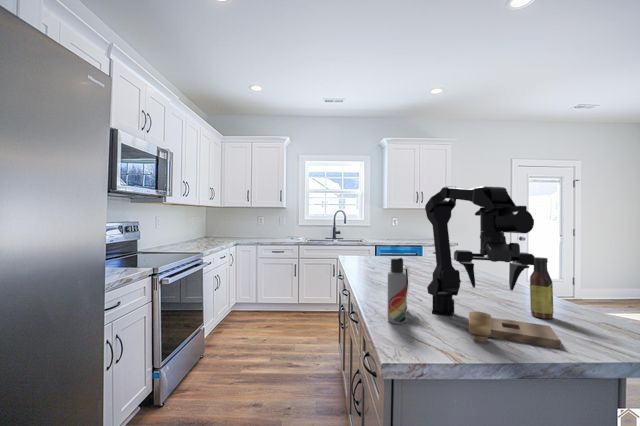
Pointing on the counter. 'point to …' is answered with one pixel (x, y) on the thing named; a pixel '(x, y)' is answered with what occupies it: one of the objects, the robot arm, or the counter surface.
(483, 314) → the oak peg
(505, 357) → the counter surface
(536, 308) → the sauce bottle
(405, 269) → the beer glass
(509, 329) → the walnut board
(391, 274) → the lotion bottle
